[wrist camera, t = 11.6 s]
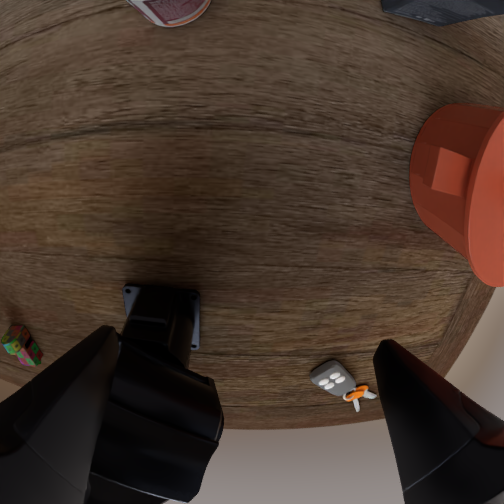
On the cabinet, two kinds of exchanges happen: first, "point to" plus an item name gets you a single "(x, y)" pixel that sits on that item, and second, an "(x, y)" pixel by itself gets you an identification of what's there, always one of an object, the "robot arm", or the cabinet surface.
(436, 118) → the pot
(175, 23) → the pill bottle
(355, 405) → the key chain
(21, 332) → the block
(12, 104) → the cabinet surface
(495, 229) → the lid
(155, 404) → the robot arm
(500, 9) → the box
